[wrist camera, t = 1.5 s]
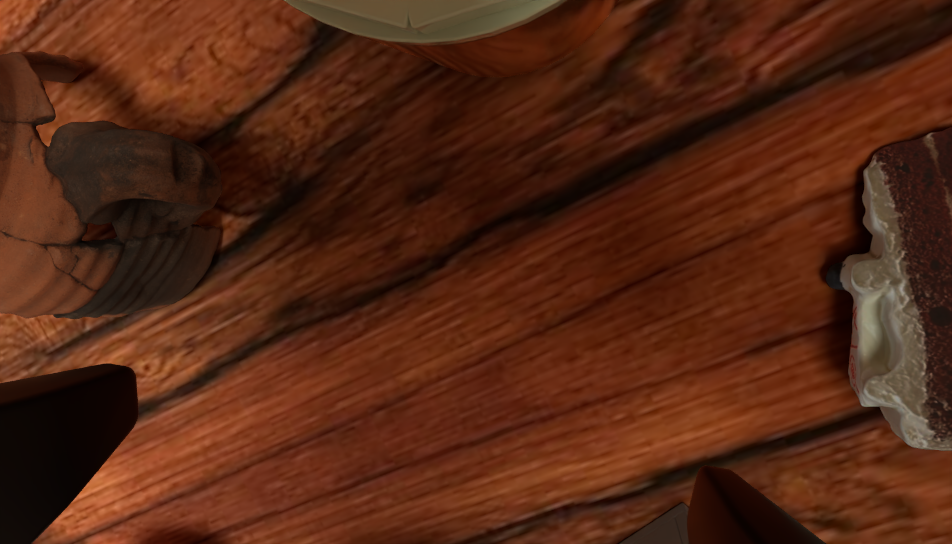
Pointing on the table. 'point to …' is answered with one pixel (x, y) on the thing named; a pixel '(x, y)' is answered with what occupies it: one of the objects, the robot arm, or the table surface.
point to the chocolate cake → (905, 291)
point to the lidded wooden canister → (470, 29)
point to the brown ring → (94, 206)
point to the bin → (664, 529)
